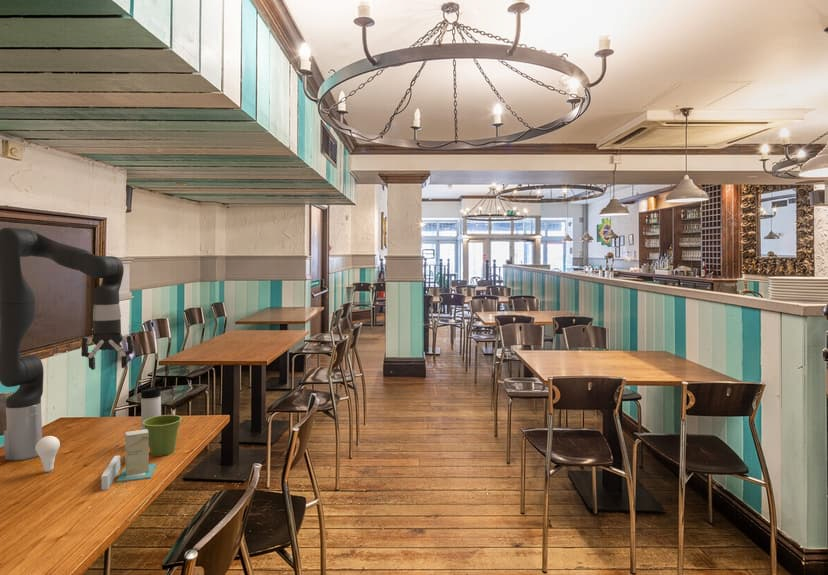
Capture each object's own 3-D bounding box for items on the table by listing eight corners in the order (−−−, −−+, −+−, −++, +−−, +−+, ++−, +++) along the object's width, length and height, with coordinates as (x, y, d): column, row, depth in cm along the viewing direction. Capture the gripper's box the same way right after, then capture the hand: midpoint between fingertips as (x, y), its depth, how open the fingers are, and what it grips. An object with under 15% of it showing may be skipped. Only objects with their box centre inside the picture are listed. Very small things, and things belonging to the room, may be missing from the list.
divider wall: (101, 490, 143) (101, 476, 143) (115, 468, 158) (114, 456, 158) (107, 489, 143) (107, 475, 143) (120, 467, 158) (120, 455, 158)
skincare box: (125, 476, 151) (124, 435, 151) (125, 470, 155) (124, 431, 154) (149, 471, 154) (148, 432, 154) (148, 466, 158) (147, 428, 158)
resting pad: (116, 482, 148) (116, 480, 148) (124, 468, 158) (124, 466, 158) (150, 478, 151) (150, 476, 151) (156, 464, 161) (156, 462, 161)
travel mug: (157, 445, 178) (155, 389, 177) (138, 445, 178) (136, 389, 177) (166, 439, 184) (164, 385, 183) (148, 439, 184) (146, 385, 183)
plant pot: (138, 460, 164) (137, 426, 164) (148, 448, 176) (148, 415, 175) (178, 457, 167) (177, 423, 166) (185, 445, 179) (184, 413, 178)
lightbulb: (65, 469, 158) (64, 434, 157) (45, 477, 152) (44, 440, 151) (51, 466, 160) (50, 432, 159) (31, 474, 154) (30, 438, 153)
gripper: (77, 320, 157) (79, 372, 157) (129, 318, 161) (131, 369, 162) (84, 318, 164) (86, 367, 165) (134, 316, 168) (135, 364, 169)
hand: (108, 368), depth 163 cm, fingers open, 8 cm apart
